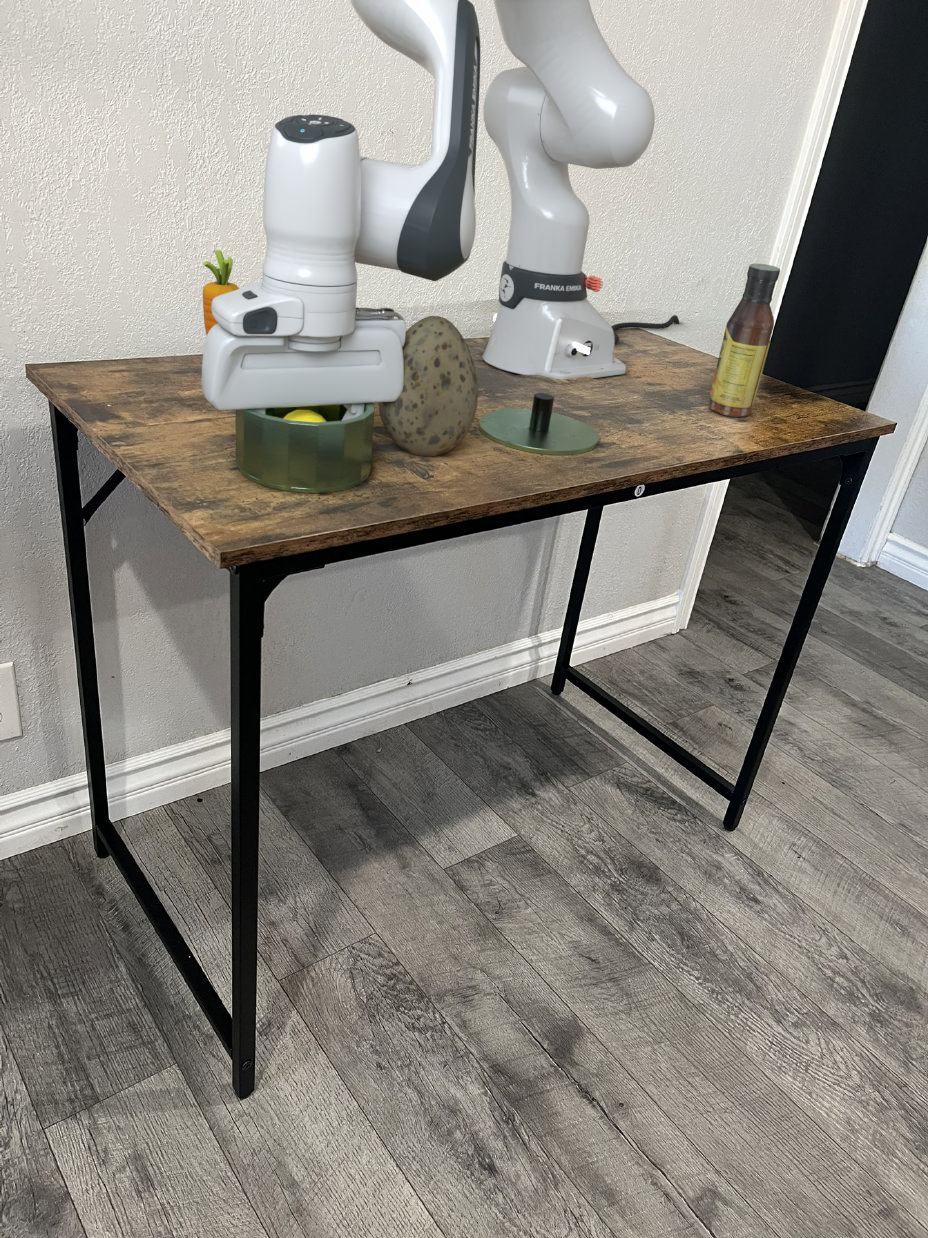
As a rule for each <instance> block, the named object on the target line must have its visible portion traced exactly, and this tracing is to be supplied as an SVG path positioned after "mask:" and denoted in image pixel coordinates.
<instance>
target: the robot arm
mask: <svg viewBox="0 0 928 1238" xmlns="http://www.w3.org/2000/svg"><path fill="white" fill-rule="evenodd" d="M349 1H350V4H351V6H352V8H353V10H354V12H355V13H356V15H357V17H358V18H359V19H360V20H361V22H362V23H363V25H364V26H365V27H366V28H367V29H368V30H369V31H370V32H371V33H372V34H373V35H374V36H375V37H376V38H378V39H379V40H380V41H381V42H383V43H384V44H385V45H386V46H388V47H390V48H391V49H393V50H395V51H397V52H398V53H400V54H402V55H404V56H405V57H407V58H409V59H410V60H412V61H413V62H415V63H416V64H417V65H420V67H422V68H423V69H424V70H425V71H427V72H428V73H429V74H430V75H431V77H433V79H434V90H433V91H434V92H433V107H432V109H433V111H432V126H431V127H432V128H431V145H430V155H429V157H428V159H427V160H426V161H424V162H422V163H420V164H415V165H413V164H406V163H400V162H394V161H386V160H381V159H376V158H375V159H374V158H369V157H367V156H361V150H360V140H359V134H358V130H357V128H356V127H355V126H354V124H352V123H351V122H349V121H347V120H344V119H343V118H340V117H336V116H331V115H325V114H324V115H323V114H313V113H312V114H311V113H309V114H296V115H295V114H294V115H291V116H287V117H284V118H283V119H281V120H278V121H277V122H276V123H275V124H274V125H273V127H272V129H271V133H270V137H269V142H268V147H267V153H266V159H265V169H264V177H263V195H262V196H263V197H262V200H263V201H262V225H263V228H264V229H263V230H264V233H265V237H266V253H265V257H264V260H263V263H262V270H261V271H262V275H261V276H262V279H261V280H259V281H257V282H255V283H252V284H248V285H247V286H244V287H241V288H239V289H238V290H235V291H232V292H228V293H225V294H222V295H219V296H217V297H215V298H214V299H213V301H212V314H213V316H214V318H215V320H216V321H217V322H218V324H216V325H214V326H213V327H212V328H211V329H210V331H209V332H208V334H207V335H206V337H205V340H204V345H203V352H202V363H201V391H202V394H203V397H204V399H206V400H207V402H208V403H209V404H211V406H212V407H213V408H214V409H216V410H217V411H219V412H222V411H224V412H225V411H236V410H244V409H254V410H256V411H258V412H261V413H263V414H265V408H283V407H302V406H321V405H340V404H344V407H345V408H347V409H348V410H347V412H346V413H345V415H344V417H343V419H342V421H343V420H347V419H351V418H355V417H358V416H360V415H361V414H362V413H364V403H374V404H375V403H377V404H378V402H395V401H397V399H398V398H399V397H400V395H401V393H402V391H403V386H404V360H403V349H402V347H403V345H404V343H405V335H406V331H407V323H406V321H405V318H404V317H403V316H402V315H401V314H400V313H398V312H396V311H395V309H394V308H391V307H380V308H374V307H373V308H371V307H357V296H358V294H357V293H358V271H357V266H356V264H360V265H367V266H372V267H379V268H383V269H389V270H396V271H400V272H401V273H402V274H407V275H410V276H413V277H418V278H420V279H423V280H424V279H425V280H428V281H431V282H438V281H440V280H442V279H444V278H445V277H447V276H450V275H451V274H452V273H454V272H455V271H457V269H459V268H460V267H462V266H463V265H464V264H465V263H466V262H467V261H468V260H469V259H470V256H471V252H472V249H473V247H474V242H475V239H476V231H477V211H476V194H475V193H476V190H475V189H476V160H477V145H478V144H477V142H478V125H479V124H478V122H479V108H480V107H479V106H480V88H481V85H480V84H481V35H480V25H479V21H478V15H477V12H476V9H475V5H474V4H473V3H472V2H471V1H470V0H349ZM493 4H494V9H495V13H496V16H497V20H498V24H499V28H500V32H501V36H502V39H503V42H504V44H505V46H506V47H507V49H508V50H509V52H510V53H511V54H512V55H513V56H514V57H515V58H516V59H517V60H518V61H519V62H521V63H522V64H523V65H524V66H521V67H514V68H510V69H506V70H503V71H501V72H499V73H498V74H497V75H496V76H495V77H494V78H493V79H492V81H491V83H490V85H489V86H488V88H487V91H486V92H485V97H484V100H483V108H482V112H483V113H482V114H483V115H482V116H483V121H484V122H483V123H484V126H485V130H486V133H487V135H488V136H489V138H490V139H491V140H492V142H493V143H494V145H495V146H496V148H497V150H498V152H499V154H500V155H501V159H502V161H503V164H504V168H505V171H506V174H507V179H508V185H509V191H510V221H509V230H508V231H509V232H508V239H507V240H508V242H507V251H506V258H505V259H506V260H504V261H503V262H502V266H501V272H500V278H499V286H498V288H499V289H498V306H497V309H496V313H495V314H494V315H493V319H492V322H493V326H492V329H491V334H490V335H489V338H488V342H487V344H486V347H485V349H484V352H483V353H482V359H483V361H484V362H486V364H489V365H490V366H493V367H495V368H497V369H500V370H503V371H506V372H510V373H513V374H519V375H523V376H537V375H538V376H542V377H545V378H550V379H554V380H559V381H560V380H562V381H563V380H564V381H565V380H573V379H580V378H581V379H582V378H588V377H589V378H591V379H598V378H603V377H604V378H605V377H611V376H619V375H625V374H626V373H627V366H626V365H625V363H624V362H622V360H620V359H618V358H617V357H615V355H614V354H615V344H617V343H618V342H619V341H620V337H619V335H618V334H617V332H616V331H618V330H621V329H629V328H630V329H631V328H632V329H633V328H635V329H647V330H649V329H650V330H651V329H652V330H662V329H663V330H664V329H667V328H669V327H670V326H672V325H673V324H674V325H680V319H679V317H678V315H676V314H673V315H672V316H671V317H670V318H669V319H668V320H667V321H666V322H663V323H661V322H660V323H652V322H651V323H650V322H640V321H639V322H637V321H635V322H634V321H631V322H630V321H629V322H621V323H615V324H613V325H611V324H610V323H609V322H608V321H607V320H606V319H605V318H604V317H603V316H602V315H601V313H600V312H599V311H598V310H597V309H596V307H595V306H594V305H593V304H592V303H591V302H590V301H589V300H588V292H587V290H591V291H592V292H594V293H598V292H600V291H601V290H602V289H603V287H604V281H603V279H602V278H600V277H598V276H595V275H592V274H591V275H589V276H587V275H586V274H585V273H584V272H583V264H584V258H585V252H586V245H587V240H588V234H589V228H590V214H589V210H588V208H587V206H586V204H585V203H584V202H583V200H581V199H580V198H579V196H577V194H576V192H575V191H574V189H573V186H572V184H571V180H570V174H569V165H574V166H579V167H584V168H589V169H594V170H603V169H605V170H606V169H616V168H617V169H618V168H627V167H630V166H632V165H633V164H635V163H636V162H637V161H638V160H639V159H640V158H641V157H642V156H643V155H644V153H645V152H646V150H647V149H648V147H649V145H650V142H651V140H652V137H653V134H654V129H655V120H656V119H655V107H654V104H653V100H652V98H651V95H650V93H649V92H648V90H647V89H646V88H645V87H643V86H642V85H641V84H640V83H638V82H637V81H636V80H635V79H634V78H633V77H632V76H631V75H630V74H628V72H627V71H626V70H625V69H624V67H623V66H622V65H621V64H620V62H619V61H618V60H617V59H616V57H615V55H614V54H613V51H612V50H611V48H610V47H609V45H608V43H607V41H606V40H605V38H604V36H603V35H602V32H601V30H600V28H599V26H598V23H597V22H596V19H595V16H594V13H593V11H592V7H591V2H590V0H493Z"/></svg>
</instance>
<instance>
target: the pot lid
mask: <svg viewBox="0 0 928 1238" xmlns="http://www.w3.org/2000/svg"><path fill="white" fill-rule="evenodd" d="M554 401H555V396H554V395H552V394H549V393H545V392H537V393H534V394H533V400H532V407H531V409H530V408H503V409H497V410H492V411H489V412H487V413H484V414H483V415H481V416H480V418H479V419H478V420H479V421H478V429H479V431H480V432H481V433H482V435H484V436H485V437H486V438H488V439H489V440H491V441H493V442H495V443H497V444H500V445H501V446H505V447H507V448H510V449H513V450H514V449H515V450H519V451H523V452H526V453H531V454H538V455H549V456H550V455H551V456H573V455H580V454H584V453H587V452H590V451H592V450H594V449H595V448H596V447H597V446H598V443H599V440H600V437H599V436H600V435H599V434H598V432H597V431H596V430H595V429H594V428H593V427H592V426H590V425H589V424H587V423H584V422H583V421H580V420H578V419H575V418H573V417H570V416H567V415H562V414H559V413H556V412H553V408H554Z"/></svg>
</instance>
